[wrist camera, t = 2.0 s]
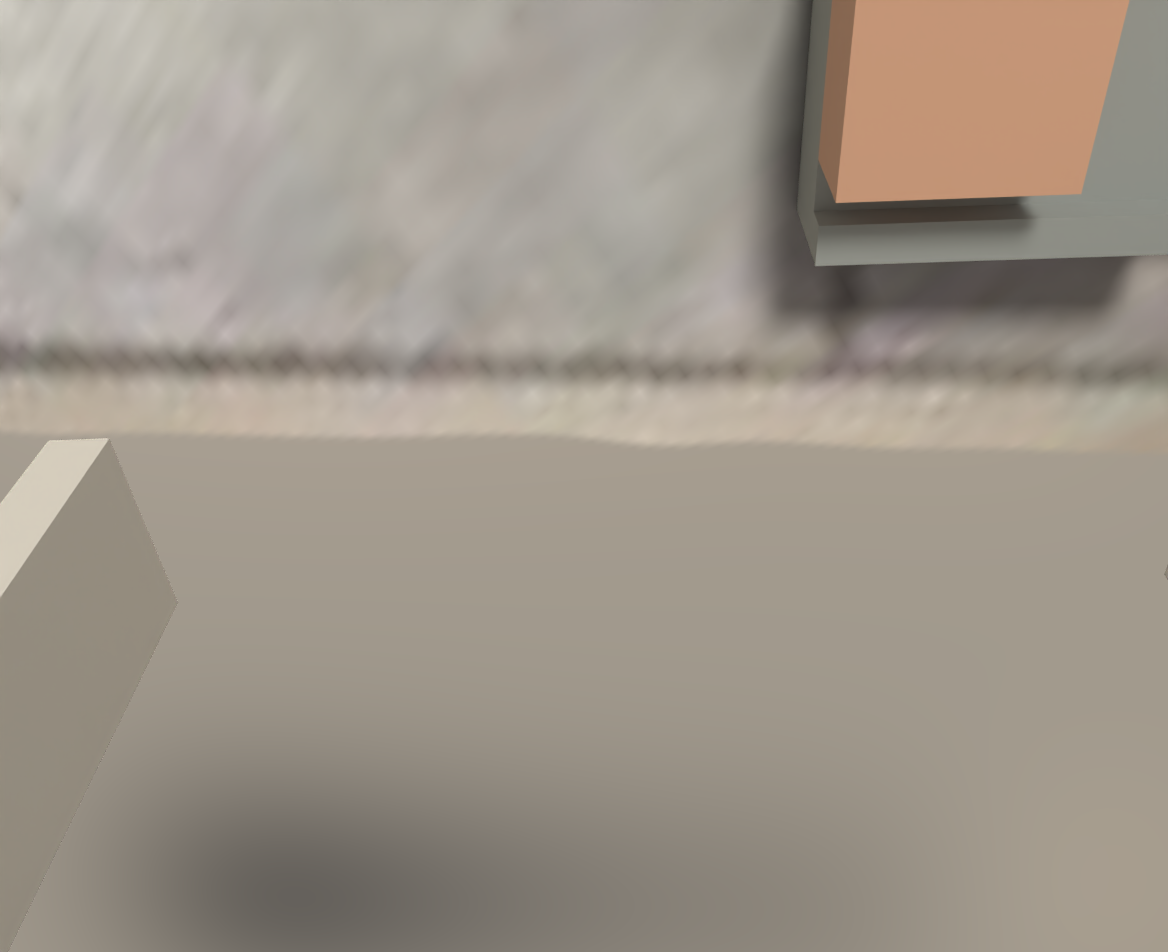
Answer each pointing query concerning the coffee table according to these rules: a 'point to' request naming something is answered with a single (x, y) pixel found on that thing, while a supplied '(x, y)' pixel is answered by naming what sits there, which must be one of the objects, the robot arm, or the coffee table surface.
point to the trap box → (1023, 223)
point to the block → (964, 96)
